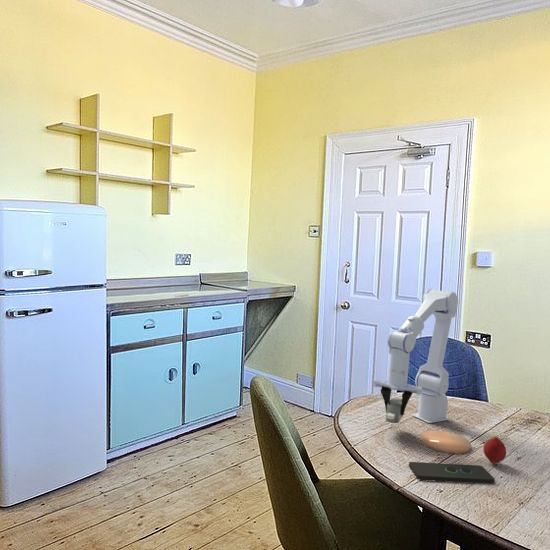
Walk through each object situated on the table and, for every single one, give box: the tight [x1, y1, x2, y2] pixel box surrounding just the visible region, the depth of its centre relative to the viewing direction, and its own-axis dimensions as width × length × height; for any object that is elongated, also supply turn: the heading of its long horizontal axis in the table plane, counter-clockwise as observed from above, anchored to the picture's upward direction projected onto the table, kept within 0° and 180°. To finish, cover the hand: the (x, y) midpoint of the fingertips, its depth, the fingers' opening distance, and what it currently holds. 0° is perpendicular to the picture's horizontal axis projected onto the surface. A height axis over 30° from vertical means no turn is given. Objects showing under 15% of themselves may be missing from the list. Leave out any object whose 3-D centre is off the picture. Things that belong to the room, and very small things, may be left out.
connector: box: [385, 397, 404, 424], centre depth 158 cm, size 12×4×5 cm, turn 155°
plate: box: [421, 430, 472, 455], centre depth 153 cm, size 14×14×1 cm
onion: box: [482, 434, 507, 465], centre depth 141 cm, size 6×6×8 cm
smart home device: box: [408, 461, 496, 485], centre depth 133 cm, size 8×2×20 cm
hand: (394, 412), depth 160 cm, fingers closed on connector, 4 cm apart
